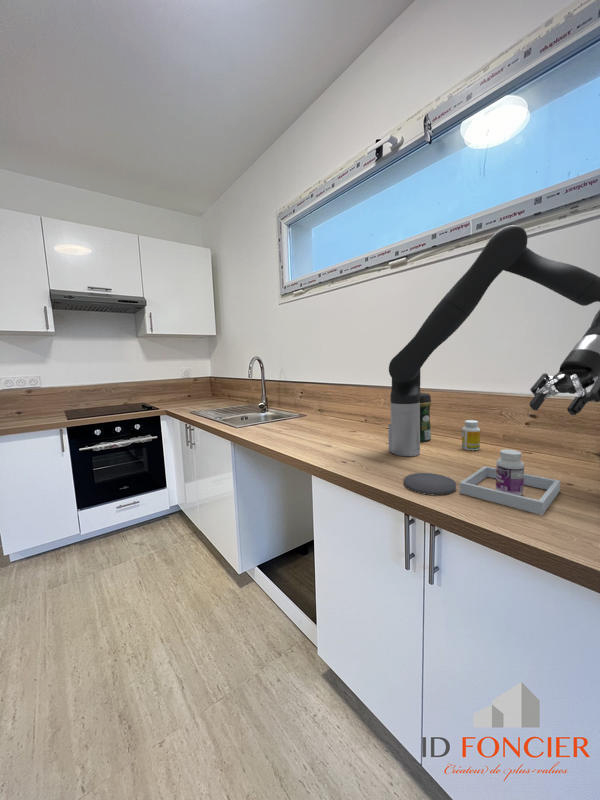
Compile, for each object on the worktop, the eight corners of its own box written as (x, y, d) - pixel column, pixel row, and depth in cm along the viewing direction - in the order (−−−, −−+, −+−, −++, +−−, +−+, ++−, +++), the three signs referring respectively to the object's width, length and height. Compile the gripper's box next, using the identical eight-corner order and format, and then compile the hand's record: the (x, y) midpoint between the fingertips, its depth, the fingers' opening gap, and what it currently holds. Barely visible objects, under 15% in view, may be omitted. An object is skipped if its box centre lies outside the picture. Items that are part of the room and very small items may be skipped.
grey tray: (459, 492, 73) (459, 482, 73) (484, 475, 84) (484, 466, 83) (542, 515, 62) (542, 502, 61) (559, 491, 72) (560, 480, 72)
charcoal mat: (394, 485, 79) (394, 482, 79) (419, 473, 87) (419, 469, 87) (442, 499, 70) (442, 495, 70) (464, 484, 78) (464, 480, 78)
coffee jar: (400, 438, 126) (400, 392, 124) (415, 435, 130) (415, 390, 127) (419, 443, 117) (419, 394, 115) (434, 440, 121) (434, 392, 119)
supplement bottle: (458, 448, 109) (458, 420, 108) (468, 445, 111) (469, 419, 110) (472, 451, 104) (473, 423, 103) (483, 449, 107) (483, 421, 105)
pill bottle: (490, 488, 75) (491, 449, 74) (511, 486, 76) (512, 447, 74) (506, 498, 70) (508, 455, 69) (529, 496, 70) (531, 454, 69)
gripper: (549, 349, 81) (514, 397, 80) (617, 345, 68) (577, 403, 66) (563, 369, 83) (529, 416, 82) (633, 369, 70) (593, 425, 68)
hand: (550, 410), depth 74 cm, fingers open, 8 cm apart
